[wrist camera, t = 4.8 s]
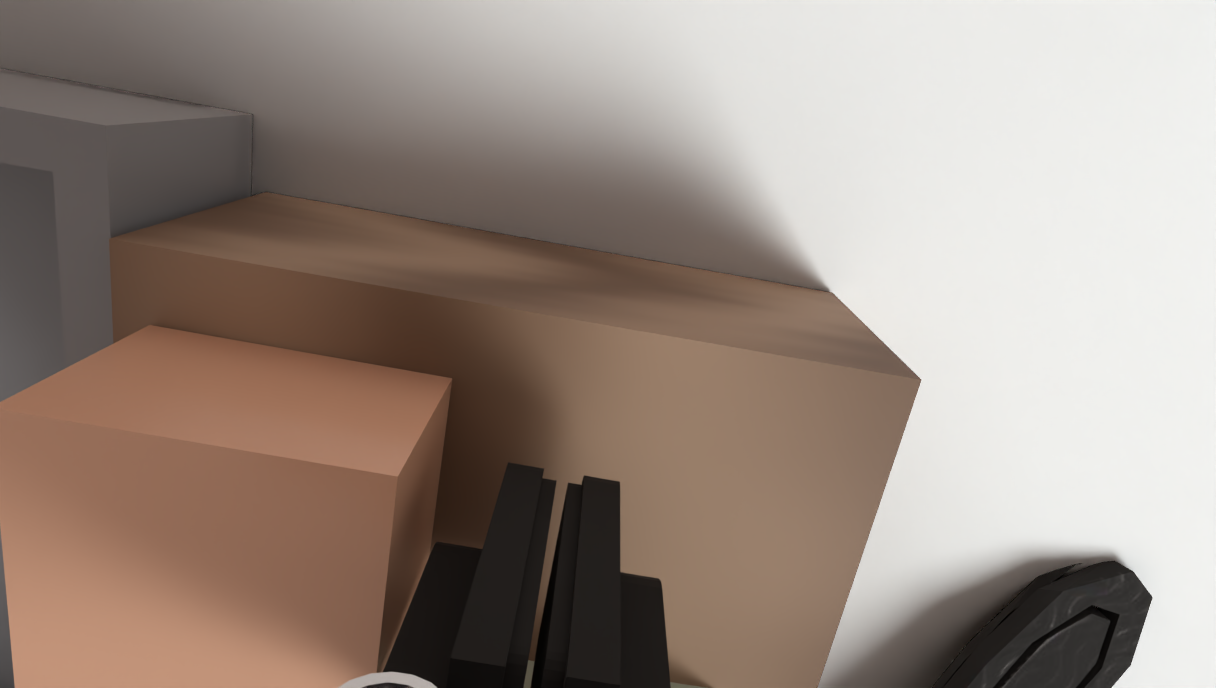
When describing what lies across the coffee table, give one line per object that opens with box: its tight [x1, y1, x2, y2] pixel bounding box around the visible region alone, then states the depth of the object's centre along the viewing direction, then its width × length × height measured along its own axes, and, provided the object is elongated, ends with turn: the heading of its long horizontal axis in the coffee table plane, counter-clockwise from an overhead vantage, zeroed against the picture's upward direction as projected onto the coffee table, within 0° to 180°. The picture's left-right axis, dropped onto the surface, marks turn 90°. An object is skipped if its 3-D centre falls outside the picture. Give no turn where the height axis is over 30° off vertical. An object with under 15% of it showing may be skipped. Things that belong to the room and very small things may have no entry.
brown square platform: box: [109, 192, 921, 688], centre depth 15 cm, size 12×12×5 cm
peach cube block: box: [0, 325, 452, 688], centre depth 11 cm, size 4×4×3 cm
